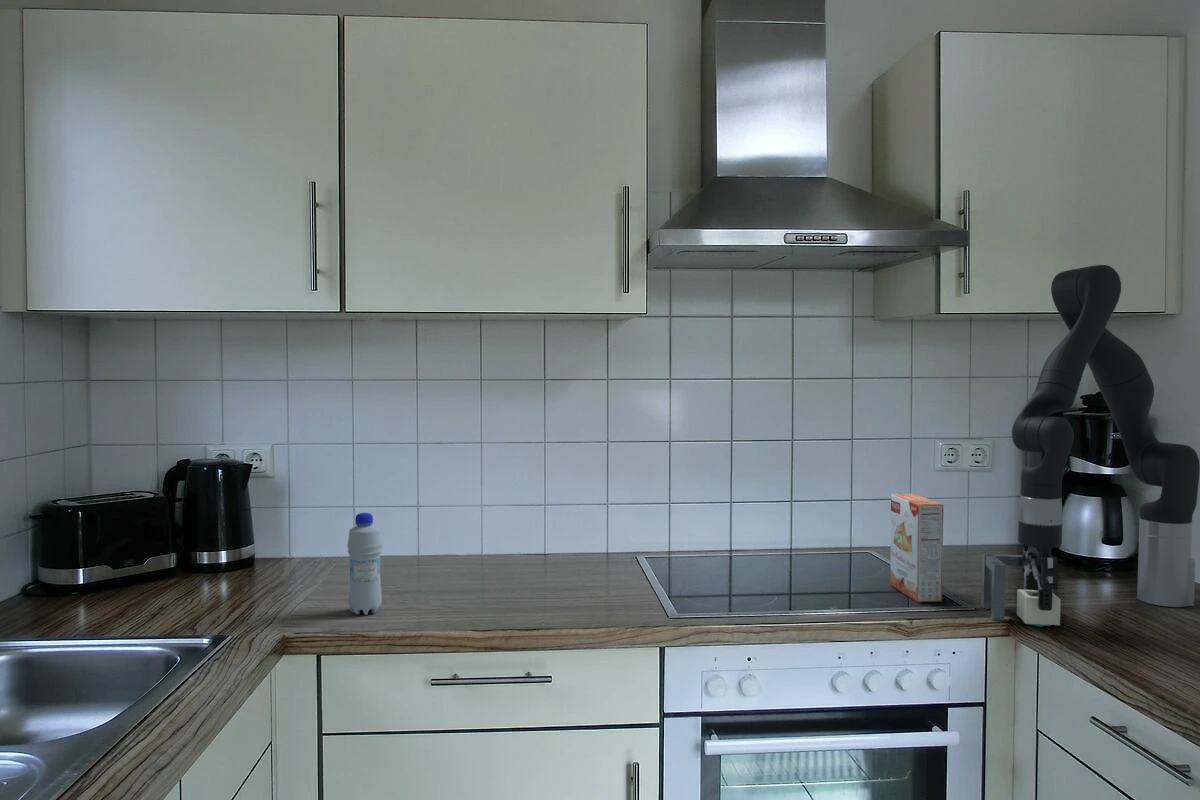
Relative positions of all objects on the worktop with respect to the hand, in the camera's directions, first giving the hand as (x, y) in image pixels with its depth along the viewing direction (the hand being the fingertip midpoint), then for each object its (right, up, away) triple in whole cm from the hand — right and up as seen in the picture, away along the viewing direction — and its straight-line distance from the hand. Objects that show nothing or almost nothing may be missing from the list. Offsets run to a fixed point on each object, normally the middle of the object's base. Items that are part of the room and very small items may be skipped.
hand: (1038, 603), depth 168 cm
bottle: (-131, -4, +7) cm, 131 cm away
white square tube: (0, -3, 0) cm, 3 cm away
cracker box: (-16, -3, +21) cm, 27 cm away
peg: (0, -4, 0) cm, 4 cm away
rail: (-2, -3, +6) cm, 7 cm away
